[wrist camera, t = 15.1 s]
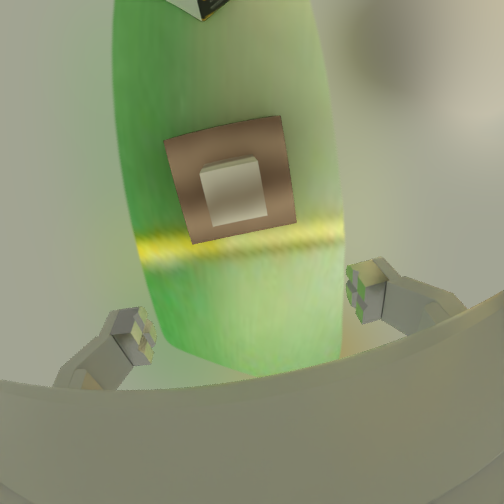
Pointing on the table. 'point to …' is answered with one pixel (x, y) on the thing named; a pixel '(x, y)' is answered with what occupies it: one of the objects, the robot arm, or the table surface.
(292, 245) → the table surface
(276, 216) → the walnut base
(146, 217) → the table surface
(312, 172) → the table surface
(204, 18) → the medicine bottle
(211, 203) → the ash cube
